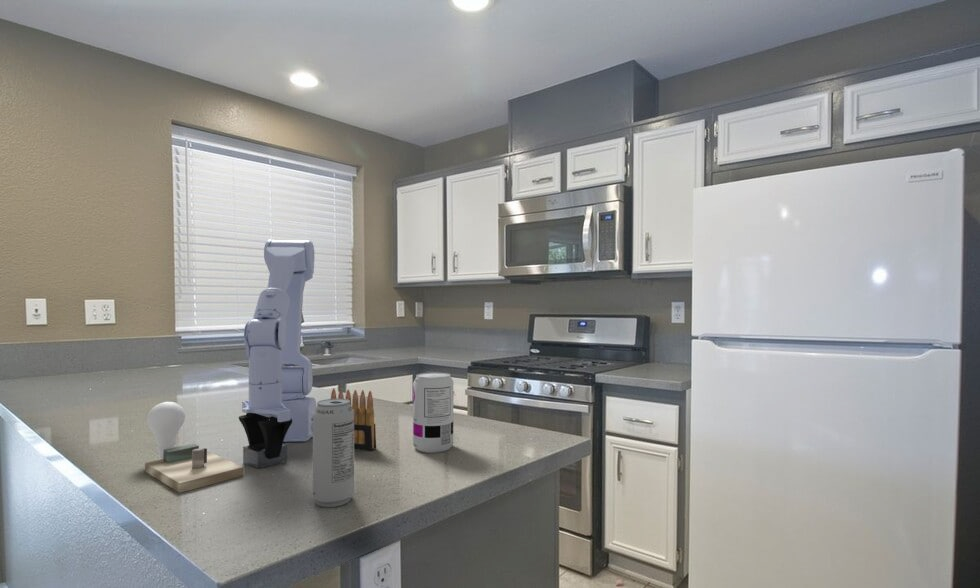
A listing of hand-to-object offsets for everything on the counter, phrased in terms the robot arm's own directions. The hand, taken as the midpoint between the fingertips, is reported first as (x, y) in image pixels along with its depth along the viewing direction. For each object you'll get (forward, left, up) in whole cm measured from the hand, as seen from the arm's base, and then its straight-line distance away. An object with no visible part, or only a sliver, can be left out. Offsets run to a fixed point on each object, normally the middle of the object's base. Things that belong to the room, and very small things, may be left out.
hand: (265, 454), depth 95 cm
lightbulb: (+20, -2, -2) cm, 20 cm away
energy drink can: (-18, +19, -2) cm, 26 cm away
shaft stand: (+10, +6, -1) cm, 12 cm away
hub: (0, 0, -1) cm, 1 cm away
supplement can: (-31, -8, -2) cm, 32 cm away
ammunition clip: (-14, -9, -2) cm, 17 cm away
